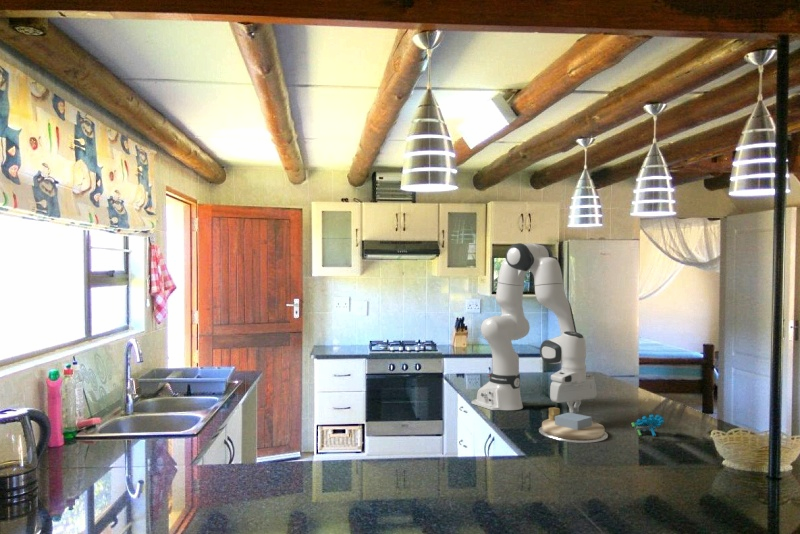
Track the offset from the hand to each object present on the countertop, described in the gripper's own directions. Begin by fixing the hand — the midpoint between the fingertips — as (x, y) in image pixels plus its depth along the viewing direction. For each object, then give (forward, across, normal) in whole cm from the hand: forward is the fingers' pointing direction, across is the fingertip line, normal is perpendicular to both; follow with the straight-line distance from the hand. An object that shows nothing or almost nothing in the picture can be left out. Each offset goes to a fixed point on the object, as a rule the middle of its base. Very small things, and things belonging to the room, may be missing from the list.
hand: (573, 412), depth 199 cm
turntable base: (+4, +10, +9) cm, 14 cm away
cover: (+2, +9, +9) cm, 13 cm away
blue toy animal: (+5, -13, +21) cm, 26 cm away
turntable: (+4, +10, +9) cm, 14 cm away
